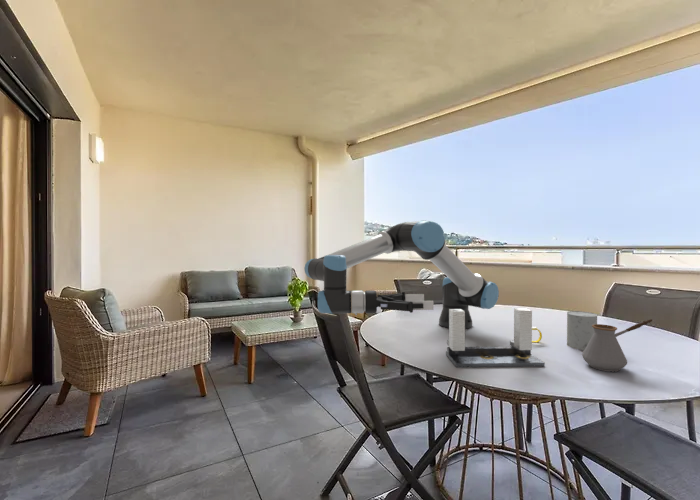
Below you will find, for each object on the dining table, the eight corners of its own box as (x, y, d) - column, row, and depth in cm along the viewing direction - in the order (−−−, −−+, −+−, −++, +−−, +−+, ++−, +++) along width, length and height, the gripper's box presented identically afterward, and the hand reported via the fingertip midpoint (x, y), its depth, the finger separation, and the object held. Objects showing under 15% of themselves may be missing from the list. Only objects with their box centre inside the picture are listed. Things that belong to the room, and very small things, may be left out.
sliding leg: (445, 349, 123) (445, 306, 122) (457, 349, 123) (457, 306, 122) (452, 357, 115) (452, 311, 114) (464, 357, 115) (464, 311, 114)
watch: (526, 343, 136) (525, 328, 135) (524, 341, 138) (523, 326, 138) (543, 343, 135) (542, 327, 135) (540, 340, 138) (539, 326, 137)
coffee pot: (599, 374, 104) (599, 324, 103) (573, 361, 115) (574, 316, 115) (670, 373, 104) (671, 323, 103) (638, 360, 115) (638, 315, 115)
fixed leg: (508, 349, 123) (508, 306, 122) (519, 348, 123) (520, 306, 122) (519, 356, 115) (519, 310, 114) (531, 356, 114) (532, 310, 114)
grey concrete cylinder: (564, 346, 130) (564, 314, 130) (569, 341, 137) (569, 310, 137) (594, 352, 124) (595, 317, 123) (599, 345, 131) (599, 313, 130)
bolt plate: (446, 354, 123) (445, 345, 122) (525, 353, 123) (525, 344, 122) (456, 367, 111) (456, 357, 110) (544, 366, 111) (544, 356, 110)
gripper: (363, 306, 128) (420, 305, 128) (366, 321, 103) (437, 321, 104) (362, 285, 128) (420, 285, 128) (366, 296, 103) (437, 296, 103)
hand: (428, 301), depth 116 cm, fingers open, 13 cm apart
